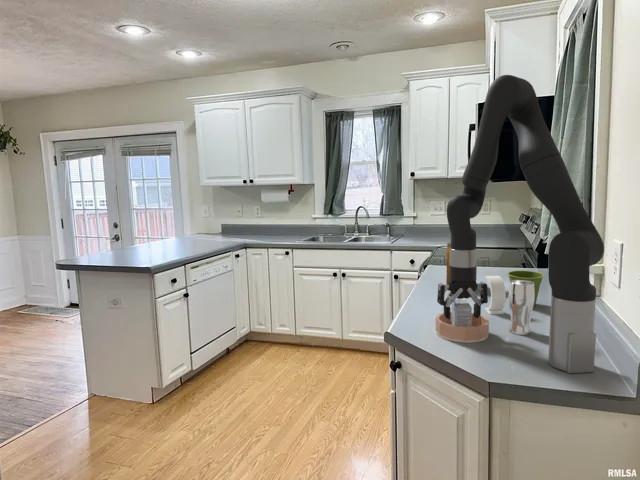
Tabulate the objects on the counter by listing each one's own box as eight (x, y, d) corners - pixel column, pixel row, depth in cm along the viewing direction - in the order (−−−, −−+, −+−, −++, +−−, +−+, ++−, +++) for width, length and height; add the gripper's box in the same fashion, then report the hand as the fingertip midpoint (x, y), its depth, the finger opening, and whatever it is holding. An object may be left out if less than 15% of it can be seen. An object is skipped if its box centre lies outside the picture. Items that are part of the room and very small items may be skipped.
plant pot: (499, 303, 162) (499, 272, 160) (522, 298, 166) (524, 269, 165) (525, 311, 151) (527, 279, 149) (550, 306, 156) (552, 275, 154)
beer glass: (511, 326, 137) (513, 278, 135) (535, 330, 133) (537, 281, 130) (504, 332, 132) (505, 283, 130) (529, 337, 127) (531, 286, 125)
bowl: (496, 341, 125) (497, 326, 124) (445, 344, 124) (446, 328, 123) (475, 324, 139) (476, 310, 139) (430, 326, 139) (430, 312, 138)
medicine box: (471, 335, 127) (472, 306, 126) (455, 335, 128) (456, 306, 127) (465, 326, 135) (466, 299, 134) (450, 326, 136) (451, 299, 135)
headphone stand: (497, 309, 154) (498, 275, 152) (505, 314, 148) (506, 279, 146) (484, 309, 154) (485, 276, 152) (491, 315, 148) (492, 280, 146)
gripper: (443, 267, 125) (442, 323, 127) (492, 265, 125) (491, 320, 128) (434, 262, 132) (434, 315, 134) (481, 260, 133) (480, 312, 135)
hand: (462, 317), depth 131 cm, fingers open, 8 cm apart
